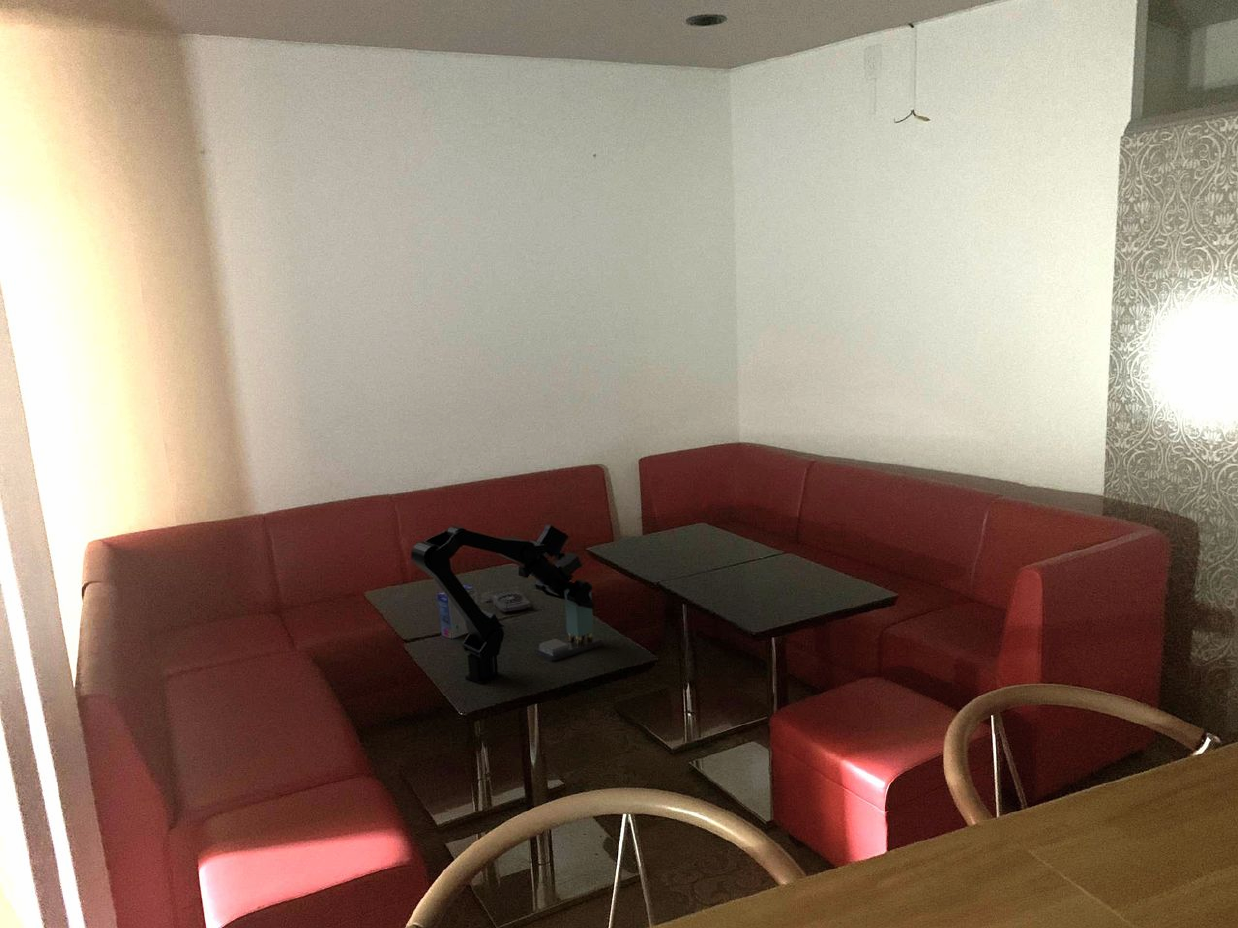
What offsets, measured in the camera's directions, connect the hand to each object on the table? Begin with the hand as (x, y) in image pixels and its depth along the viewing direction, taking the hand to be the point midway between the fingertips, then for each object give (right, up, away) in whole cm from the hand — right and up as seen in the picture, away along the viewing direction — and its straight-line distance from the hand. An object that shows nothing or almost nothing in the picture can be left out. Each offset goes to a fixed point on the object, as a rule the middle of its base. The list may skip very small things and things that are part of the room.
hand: (582, 603), depth 247 cm
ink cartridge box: (-35, -11, +16) cm, 40 cm away
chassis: (-4, -12, -1) cm, 12 cm away
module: (-1, -8, 0) cm, 8 cm away
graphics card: (-24, -7, +37) cm, 45 cm away
